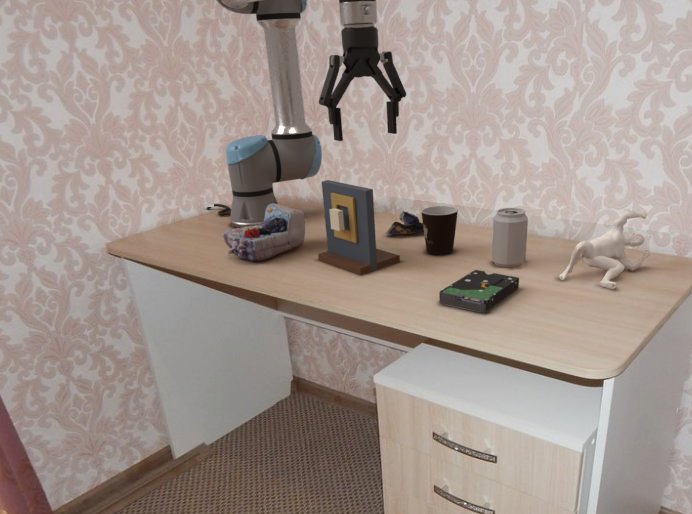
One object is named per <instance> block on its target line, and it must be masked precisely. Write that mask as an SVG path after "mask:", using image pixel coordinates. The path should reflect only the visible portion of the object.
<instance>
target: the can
mask: <svg viewBox="0 0 692 514" xmlns="http://www.w3.org/2000/svg"><path fill="white" fill-rule="evenodd" d="M528 223H529V218H528V216H527V214H526V210H525V209H524V208H520V207H503V208H499V209H497V210H496V214H495V216H493V219H492V249H491V250H492V251H491V261H492V262H493V263H494V264H495V265H496V266H498V267H502V268H516V267H519V266H521V265H522V264H523V263H524V262H525V261H526V259H527V257H526V256H527V244H528V243H527V242H528V226H529V224H528Z"/></svg>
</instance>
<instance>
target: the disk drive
mask: <svg viewBox="0 0 692 514" xmlns="http://www.w3.org/2000/svg"><path fill="white" fill-rule="evenodd" d="M519 287H520V277H518V276H513V275H507V274H502V273H497V272H493V273H490V274H488V273H486V271H484V270H479V269H474V270H472V271H471V272H468V273H467V274H466V275H465V276H463V277H461V278H459V279H457V281H455V282H453V283H451V284H450V285H447V286H446V287H444V288H443V289H441V290H440V291H439V293H438V295H439V296H438V297H439V304H442V305H446V306H449V307H455V308H458V309H464V310H467V311H468V310H469V311H472V312H477V313H487V312H489V311H490V310H491V309H493V308H494V307H496V306H497V305H499V304H500V303H501V302H502V301H504V300H505V299H506V298H508V297H509V296H511V294H513V293H515V292H516V291H517V290H518V289H519Z"/></svg>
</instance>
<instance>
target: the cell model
mask: <svg viewBox="0 0 692 514" xmlns="http://www.w3.org/2000/svg"><path fill="white" fill-rule="evenodd" d="M305 234H306V221H305V214H304V211H301V210H299V209H296V208H293V207H290V206H287V205H284V204H279V203H278V204H270V205H268V206H267V208H266V211H265V219H264V222H263V224H262V225H257V226H249V227H242V228H234V229H233V228H231V229H226V230H224V232H223V233H222V238H223V241H224V243H225V244H226V245H227V246H228V248H229V249H230V250H228V251H227V254H228V255H231V254H234V255H235V256H236V257H237V258H239V259H241V260H245V261H246V260H247V261H251V262H260V261H266V260H269V259H272V258H274V257H275V256H277V255H279V254H281V253H286V252H287V251H289V252H290V251H292V250H293V249H294V248H296V247H299V246H302V245H303V244H304V243H305V236H306V235H305Z"/></svg>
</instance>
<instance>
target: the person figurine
mask: <svg viewBox="0 0 692 514" xmlns="http://www.w3.org/2000/svg"><path fill="white" fill-rule="evenodd" d="M647 216H648V213H646V212H636V211H631V210H626V211H623V212H622V214H621V216H620V217H618V218H616V220H614V222H613V223H612V227H611V228H610V229H609V230H608V231H607V232H605V233H603V234H602V235H599V236H597V237H594V238H591V239H590V240H582V241H579V243H577V244H576V245H575V247H574V250H573V251H572V253H571V257H570V262H569V264H568V265H567V267H566V269H565V270H564V271H563V272H562V273H560V274H559V279H560V280H561V281H565V280H566V279H567V278H568V276H569V274H571V273H572V271H573V269H574V267H575V266H576V264H578V262H579V261H581V260H582V258H583V261H584V264H585V265H586V266H588V267H589V268H596V269H600V270H603V271H606V273H605V274H604V276H603V278H602V280H601V281H599V282H598V285H599V286H600V287H603V288H605V289H608V290H609V289H610V290H615V288H617V286H618V283H617V282H615V281H611V280H613V279H615V278H617V277H618V276H619V275H620V274H621V273H622V272H624V270H625V269H627V270H629V271H630V272H634V271H635V270H636V269H638V268H639V267H641V265H642V264H643V263H644V262H645V261H646V259H647V258H648V257H650V256H651V255H652V252H651V251H650V250H649V249H646V250H645V251H644V252H643V256H642V257H641V258H639V259H638V260H637V261H635V262H632V261H631V259H629V258H627V254H626V251H625V247H627V246H628V247H631V248H633V247H639V246H642V245H644V243H645V241H646V240H645V239H646V238H645V237H644V235H642V234H641V233H631V235H629V236H625V235H624V234H623V233H624V226H625V225H626V224H627V223H628V220H630V219H639V218H641V219H646V218H647Z"/></svg>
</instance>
